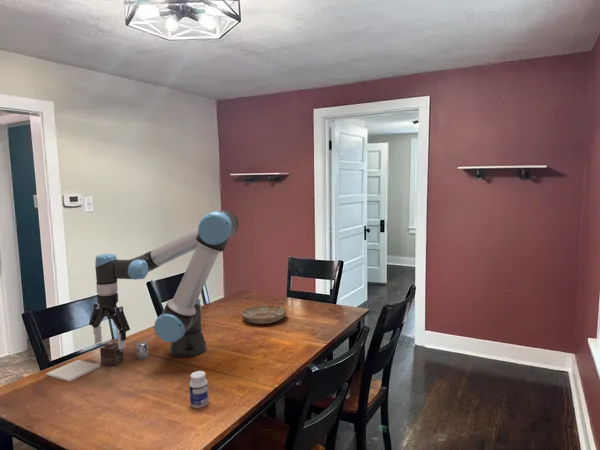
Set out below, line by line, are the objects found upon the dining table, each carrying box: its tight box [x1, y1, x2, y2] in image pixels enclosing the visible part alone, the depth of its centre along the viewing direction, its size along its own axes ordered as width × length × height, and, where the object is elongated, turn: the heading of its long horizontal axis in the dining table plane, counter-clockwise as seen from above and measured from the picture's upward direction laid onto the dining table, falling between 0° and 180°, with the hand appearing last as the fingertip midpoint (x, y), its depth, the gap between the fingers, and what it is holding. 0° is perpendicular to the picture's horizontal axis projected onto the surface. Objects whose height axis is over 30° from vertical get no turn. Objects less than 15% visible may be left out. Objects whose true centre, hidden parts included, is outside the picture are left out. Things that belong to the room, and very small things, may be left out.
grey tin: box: [135, 340, 149, 361], centre depth 169 cm, size 4×4×6 cm
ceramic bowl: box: [241, 304, 287, 325], centre depth 213 cm, size 23×24×5 cm
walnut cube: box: [104, 338, 125, 352], centre depth 175 cm, size 5×5×5 cm
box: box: [99, 343, 124, 367], centre depth 164 cm, size 6×6×7 cm
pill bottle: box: [188, 370, 210, 409], centre depth 131 cm, size 6×6×10 cm
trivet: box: [46, 359, 101, 382], centre depth 158 cm, size 13×13×1 cm
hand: (110, 345), depth 164 cm, fingers open, 13 cm apart
